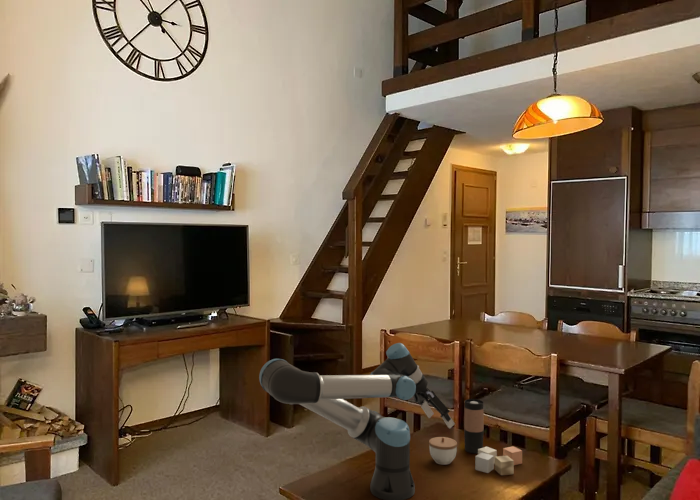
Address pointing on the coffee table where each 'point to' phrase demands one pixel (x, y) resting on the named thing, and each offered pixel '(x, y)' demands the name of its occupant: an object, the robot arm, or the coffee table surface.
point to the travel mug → (473, 425)
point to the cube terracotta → (513, 454)
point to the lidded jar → (443, 449)
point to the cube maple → (504, 465)
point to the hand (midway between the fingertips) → (441, 420)
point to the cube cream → (488, 451)
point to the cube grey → (484, 462)
